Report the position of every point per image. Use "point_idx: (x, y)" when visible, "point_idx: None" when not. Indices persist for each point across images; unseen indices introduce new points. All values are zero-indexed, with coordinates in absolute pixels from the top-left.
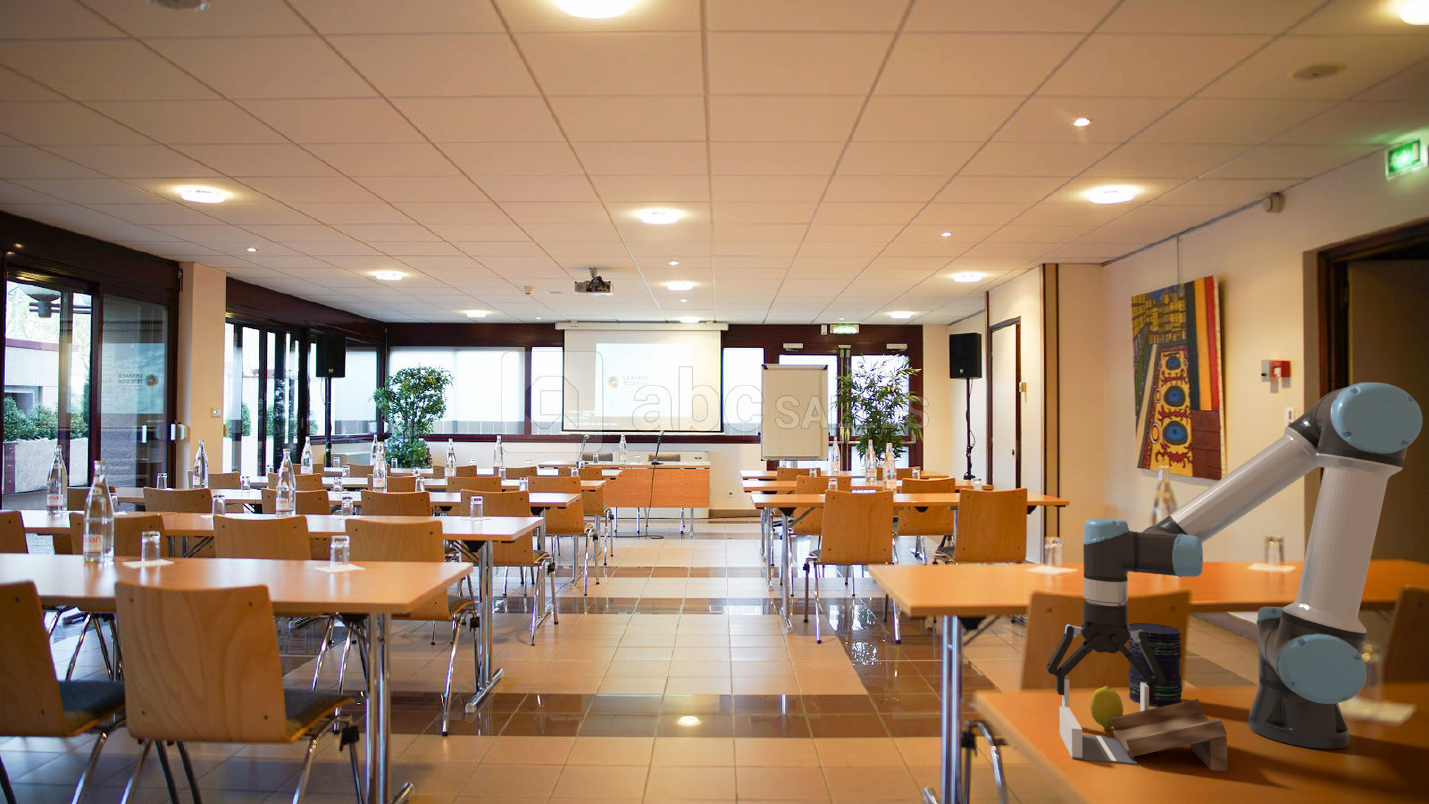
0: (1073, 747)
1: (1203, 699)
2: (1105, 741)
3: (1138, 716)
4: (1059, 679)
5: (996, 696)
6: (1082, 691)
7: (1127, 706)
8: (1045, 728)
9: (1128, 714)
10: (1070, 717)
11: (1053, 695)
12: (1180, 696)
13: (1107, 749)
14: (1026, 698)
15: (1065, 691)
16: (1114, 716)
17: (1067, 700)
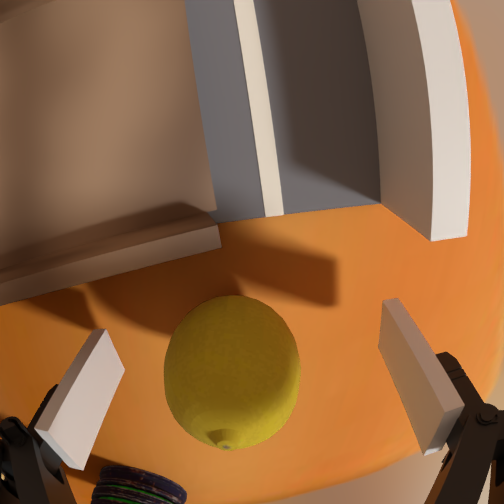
0: None
1: (84, 486)
2: (251, 157)
3: (87, 255)
4: (476, 403)
5: None
6: (272, 497)
7: (185, 466)
8: (438, 245)
9: (129, 265)
10: (443, 53)
11: (338, 471)
12: (96, 485)
13: (250, 59)
14: (405, 438)
15: (436, 360)
16: (201, 308)
17: (411, 334)
